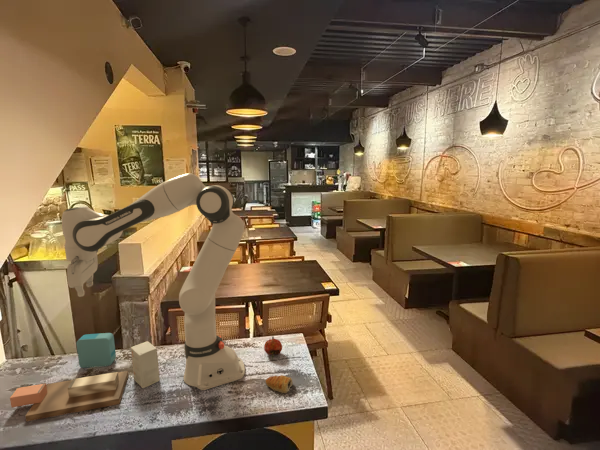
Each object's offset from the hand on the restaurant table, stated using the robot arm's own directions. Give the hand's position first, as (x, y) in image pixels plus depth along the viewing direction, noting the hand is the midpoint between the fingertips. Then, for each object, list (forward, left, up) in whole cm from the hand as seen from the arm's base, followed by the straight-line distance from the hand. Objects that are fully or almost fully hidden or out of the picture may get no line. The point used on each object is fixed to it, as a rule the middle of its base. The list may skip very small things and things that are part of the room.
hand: (85, 291), depth 119 cm
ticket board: (+2, +10, -34) cm, 36 cm away
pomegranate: (-66, +5, -34) cm, 75 cm away
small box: (-18, +7, -34) cm, 39 cm away
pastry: (-64, +25, -35) cm, 77 cm away
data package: (+2, -10, -34) cm, 36 cm away
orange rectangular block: (+17, +10, -32) cm, 37 cm away
